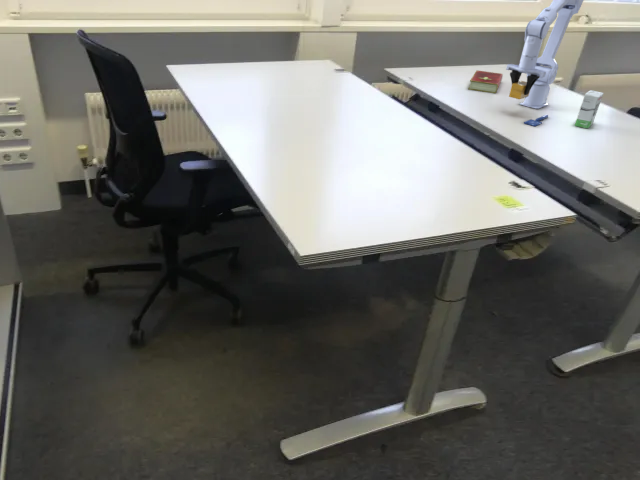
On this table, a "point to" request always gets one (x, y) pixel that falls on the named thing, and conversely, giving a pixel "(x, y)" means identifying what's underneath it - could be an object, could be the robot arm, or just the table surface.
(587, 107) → the ink box
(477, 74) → the hardcover book
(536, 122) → the spatula
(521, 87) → the block
